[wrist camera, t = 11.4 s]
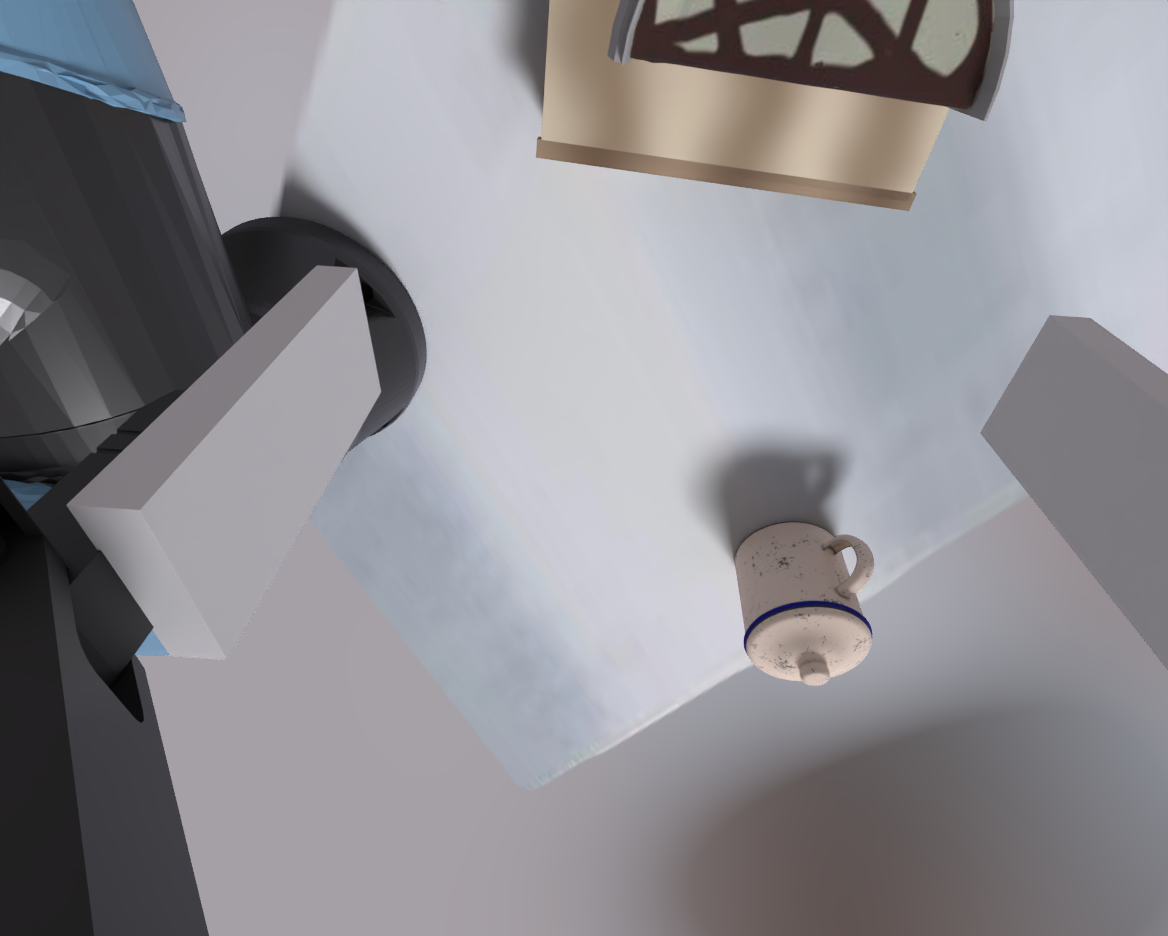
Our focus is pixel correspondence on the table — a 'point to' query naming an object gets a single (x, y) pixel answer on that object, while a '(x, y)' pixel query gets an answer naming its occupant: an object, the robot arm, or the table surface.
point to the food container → (832, 44)
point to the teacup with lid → (803, 602)
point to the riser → (724, 122)
